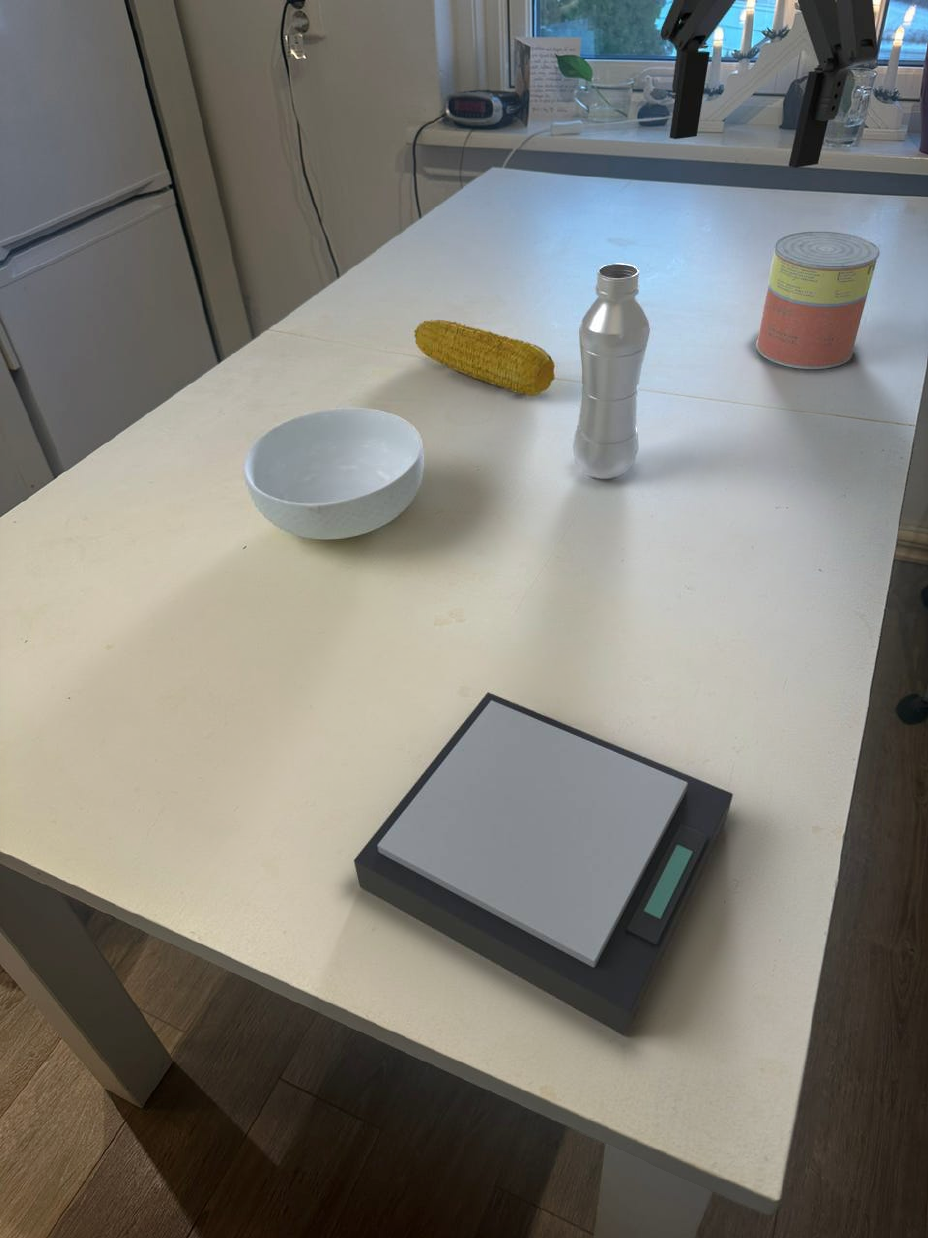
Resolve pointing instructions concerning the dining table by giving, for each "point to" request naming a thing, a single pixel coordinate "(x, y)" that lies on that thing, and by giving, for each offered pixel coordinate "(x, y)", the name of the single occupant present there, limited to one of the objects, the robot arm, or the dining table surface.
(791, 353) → the canned food
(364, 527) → the cereal bowl
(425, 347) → the food
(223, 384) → the dining table surface
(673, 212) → the dining table surface
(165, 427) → the dining table surface
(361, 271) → the dining table surface
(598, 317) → the silver aluminium bottle
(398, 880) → the scale
